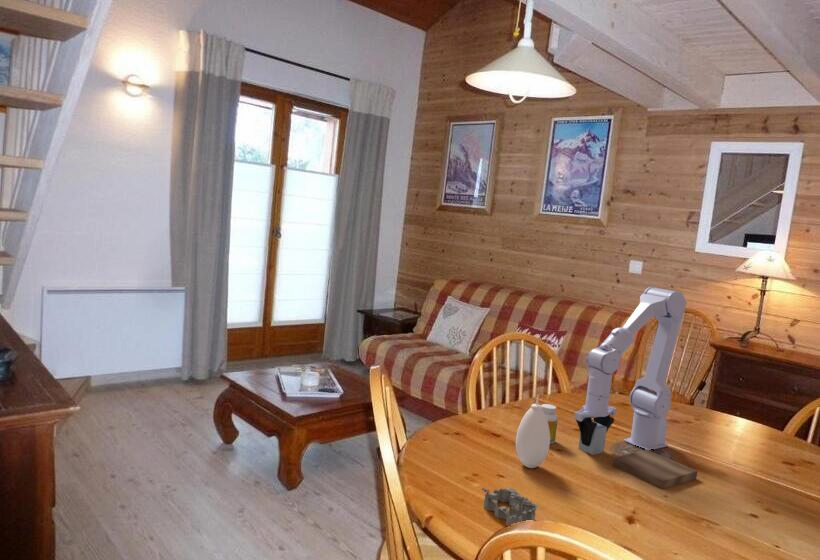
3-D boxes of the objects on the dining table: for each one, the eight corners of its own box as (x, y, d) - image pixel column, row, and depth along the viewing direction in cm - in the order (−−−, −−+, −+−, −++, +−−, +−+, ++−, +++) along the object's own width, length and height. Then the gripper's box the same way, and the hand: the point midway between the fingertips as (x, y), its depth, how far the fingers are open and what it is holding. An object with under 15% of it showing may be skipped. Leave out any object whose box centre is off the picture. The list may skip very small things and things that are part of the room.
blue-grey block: (589, 446, 160) (592, 421, 159) (603, 452, 156) (607, 426, 155) (578, 448, 157) (581, 423, 157) (592, 454, 154) (595, 429, 153)
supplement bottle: (555, 445, 158) (559, 410, 157) (534, 442, 159) (539, 407, 158) (554, 438, 163) (558, 404, 162) (534, 435, 164) (538, 401, 163)
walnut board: (645, 456, 156) (646, 449, 155) (696, 478, 144) (697, 470, 144) (612, 465, 148) (613, 457, 148) (662, 489, 136) (664, 481, 136)
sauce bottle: (507, 460, 145) (515, 389, 143) (535, 458, 147) (543, 389, 146) (524, 474, 137) (532, 400, 136) (552, 472, 140) (561, 399, 138)
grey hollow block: (477, 505, 121) (479, 486, 121) (506, 499, 125) (508, 481, 124) (511, 531, 112) (513, 510, 111) (540, 524, 116) (543, 504, 115)
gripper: (603, 387, 163) (597, 434, 164) (567, 392, 154) (561, 441, 156) (625, 394, 157) (618, 443, 158) (589, 400, 149) (583, 451, 150)
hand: (591, 443), depth 157 cm, fingers closed on blue-grey block, 5 cm apart
